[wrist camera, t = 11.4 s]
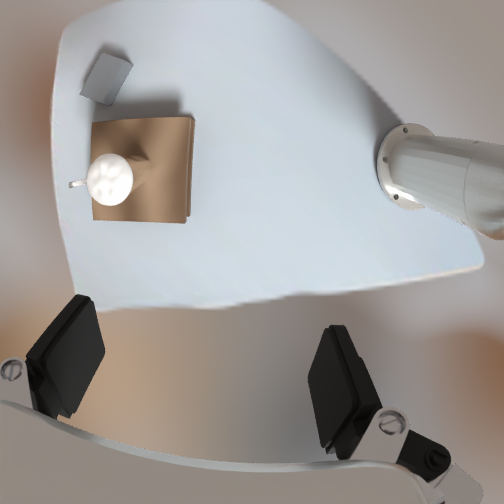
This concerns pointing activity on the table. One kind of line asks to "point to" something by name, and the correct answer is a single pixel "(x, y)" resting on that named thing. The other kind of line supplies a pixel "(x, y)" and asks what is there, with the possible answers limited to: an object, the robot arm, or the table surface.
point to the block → (106, 79)
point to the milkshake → (115, 177)
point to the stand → (162, 162)
